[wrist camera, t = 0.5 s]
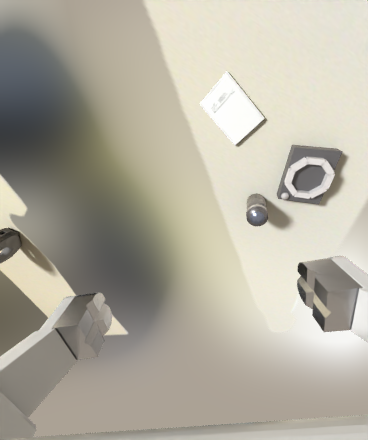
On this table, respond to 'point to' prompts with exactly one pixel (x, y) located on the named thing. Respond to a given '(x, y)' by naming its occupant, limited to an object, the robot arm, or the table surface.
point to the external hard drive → (231, 109)
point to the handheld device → (8, 243)
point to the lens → (256, 210)
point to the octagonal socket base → (308, 173)
